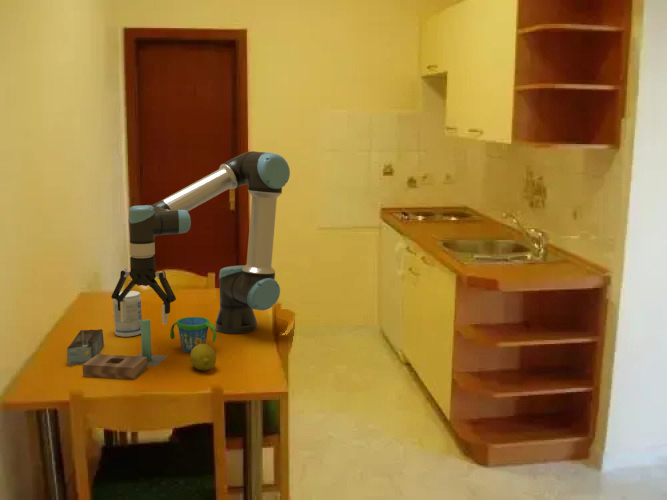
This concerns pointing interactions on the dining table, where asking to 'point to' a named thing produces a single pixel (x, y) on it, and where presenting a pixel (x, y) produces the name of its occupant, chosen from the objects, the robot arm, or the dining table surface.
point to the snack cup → (192, 332)
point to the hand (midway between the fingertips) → (144, 322)
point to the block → (115, 366)
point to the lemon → (203, 357)
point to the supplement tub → (128, 315)
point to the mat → (154, 359)
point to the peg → (146, 339)
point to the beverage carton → (85, 346)
